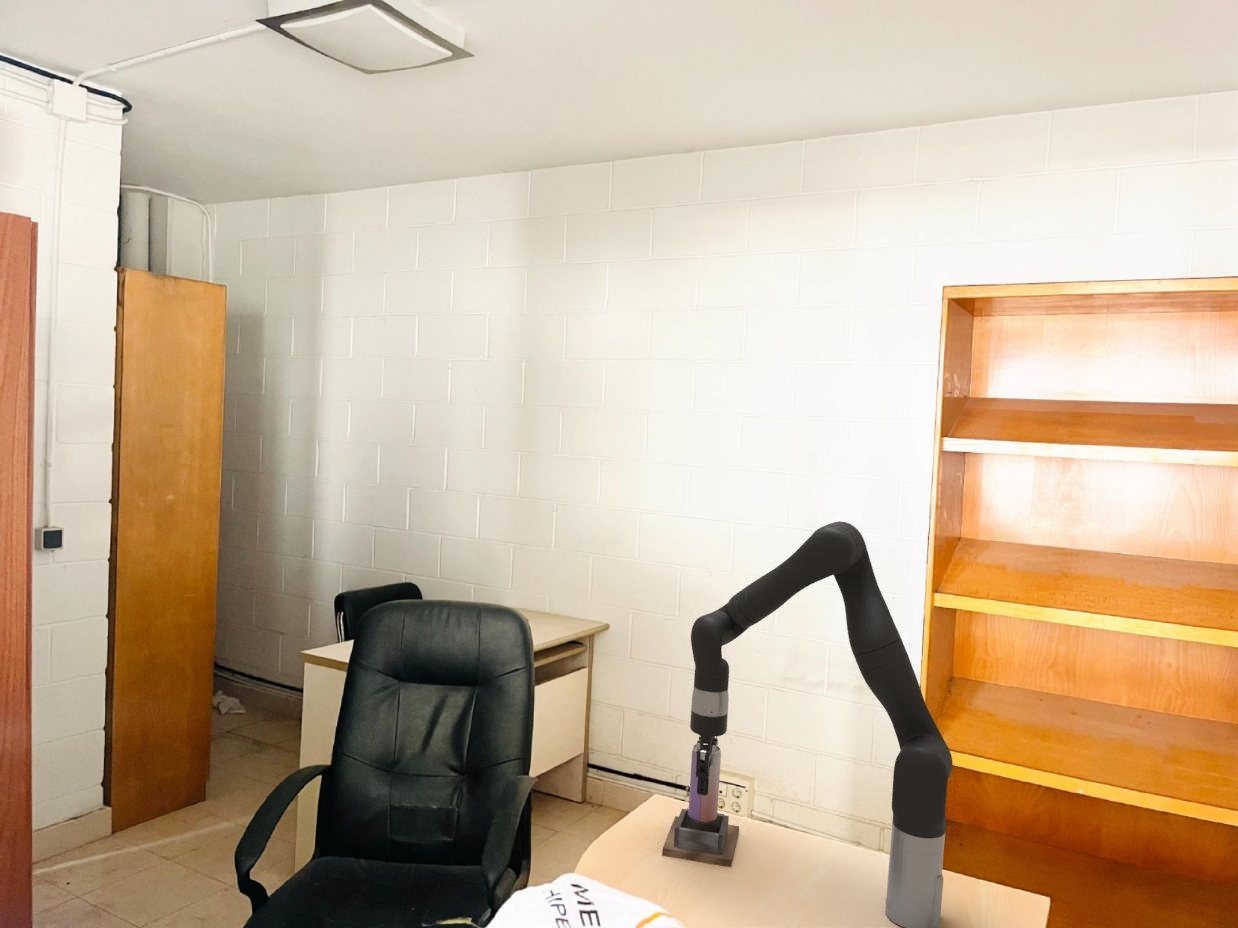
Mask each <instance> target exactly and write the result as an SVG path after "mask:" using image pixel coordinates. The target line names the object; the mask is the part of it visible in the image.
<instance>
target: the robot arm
mask: <svg viewBox="0 0 1238 928" xmlns="http://www.w3.org/2000/svg"><path fill="white" fill-rule="evenodd" d="M832 576H833V578H834V579H835V582H836V584H837V586H838V588H839V591H840V593H841V596H842V599H843V600H842V601H843V604H844V610H845V620H846V621H845V622H846V629H847V636H848V641H849V642H848V643H849V646H850V648H851V652H852V654H853V656H854V660H855V663H856V664H857V667H858V669H859V671H860V673H861V676H862V677H863V680H864V682H865V684H866V685H867V686H868V688H869V689H870V690H871V692H872V694H873V695H874V696H875V698H876V699H877V700H878V701H879V703H880V704H881V706H882V707H883V708H884V710H885V712H886V713H887V715H888V717H889V719H890V721H891V724H892V727H893V729H894V733H895V736H896V739H897V742H898V746H899V749H900V751H899V752H898V754H897V756H896V759H895V761H894V767H893V775H892V776H893V777H892V793H891V795H892V796H891V809H892V810H891V811H892V822H891V835H890V836H891V837H890V845H889V846H890V848H889V860H888V861H889V862H888V871H887V886H886V887H887V888H886V896H885V897H886V898H885V911H884V912H885V914H886V917H887V918H888V919H890V921H892V922H893V923H894V924H896V925H898V926H900V927H903V928H940V927H941V926H940V925H941V914H942V901H943V900H942V899H943V892H944V891H943V890H944V889H943V888H944V876H943V864H944V853H945V851H944V850H945V838H946V827H947V817H946V803H947V792H948V782H949V781H948V780H949V778H950V776H951V774H952V771H953V756H952V754H951V750H950V748H949V746H948V745H947V743H946V741H945V739H944V737H943V736H942V733H941V731H940V729H939V727H938V726H937V724H936V722H935V720H934V719H933V716H932V715H931V712H930V711H929V708H928V707H927V704H926V701H925V699H924V696H923V693H922V690H921V687H920V684H919V681H918V679H917V675H916V673H915V671H914V668H913V665H912V662H911V660H910V657H909V655H908V651H907V649H906V647H905V644H904V643H903V640H902V638H901V635H900V633H899V631H898V629H897V626H896V624H895V621H894V619H893V617H892V614H891V612H890V609H889V607H888V604H887V603H886V600H885V599H884V597H883V594H882V591H881V589H880V587H879V584H878V581H877V578H876V575H875V572H874V569H873V566H872V561H871V559H870V554H869V552H868V548H867V545H866V541H865V539H864V537H863V535H862V533H861V532H860V531H859V529H858V528H857V527H855V526H854V525H853V524H851V523H848V522H846V521H842V520H841V521H839V520H838V521H834V522H831V523H828V524H825V525H823V526H821V527H819V528H817V529H816V530H815V531H814V532H813V533H812V534H811V535H810V536H809V537H808V538H807V540H805V541H804V543H802V544H801V545H800V547H799V548H797V550H795V552H794V553H792V554H791V555H790V556H789V557H788V558H787V559H786V560H784V561H783V562H782V563H780V564H779V565H778V566H776V567H775V568H773V569H772V570H770V571H769V572H767V573H765V574H764V575H762V576H761V577H759V578H757V579H756V580H754V581H753V582H751V583H749V584H748V585H747V586H745V587H744V588H743V589H742V588H741V590H740V591H738V592H736V594H734V595H733V596H732V597H731V598H729V600H728V602H726V604H724V605H723V606H721V607H719V608H718V609H716V610H714V611H712V612H710V613H707V614H703V615H701V616H699V617H697V618H696V620H695V621H694V623H693V625H692V628H691V631H690V644H691V650H692V657H693V661H694V665H695V666H694V667H695V668H694V679H693V680H694V681H693V689H692V694H691V705H690V706H691V708H690V709H691V710H690V723H689V724H690V725H689V727H690V730H691V732H693V733H694V734H697V735H699V736H698V740H697V741H696V744H697V747H696V748H697V751H696V753H697V758H696V774H695V775H696V777H698V783H697V793H698V794H699V795H707V794H708V787H709V776H710V767H711V766H713V759H714V753H715V752H716V748H717V746H718V744H719V738H718V737H721V736H723V735H725V734H726V733H727V730H728V713H729V702H730V701H729V700H730V699H729V683H730V682H729V681H730V679H729V678H730V665H729V662H727V660H726V659H725V658H723V655H722V654H723V651H722V647H723V646H726V645H727V644H729V643H731V642H732V641H734V640H735V639H737V638H738V637H740V636H741V635H742V634H743V633H744V632H746V631H747V630H748V629H749V628H750V627H752V626H754V625H756V624H758V623H759V622H761V621H762V620H764V619H766V618H767V617H769V615H771V614H772V613H774V612H775V611H777V610H778V609H779V608H781V607H782V606H783V605H784V604H786V603H787V602H788V601H789V600H790V599H791V598H792V597H794V596H795V595H796V594H797V593H799V592H800V591H802V590H804V589H806V588H807V587H808V586H809V587H810V585H813V584H815V583H818V582H819V581H821V580H825V579H827V578H829V577H832ZM718 747H719V746H718ZM710 755H711V760H710V761H709V757H710ZM701 767H703V768H706V771H700V769H701Z"/></svg>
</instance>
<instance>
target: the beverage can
mask: <svg viewBox="0 0 1238 928" xmlns="http://www.w3.org/2000/svg"><path fill="white" fill-rule="evenodd" d="M696 747H697V743H696V744H694V745H693V747H692V751H691V763H690V779H689V781H690V782H689V795H688V796H689V797H688V809H689V810H688V815H689V817H690V819H691V820H692V821H694V822H696V823H700V824H709V823H712V822H714V821H715V820H716V818H717V813H718V810H719V808H718V806H719V793H720V774H721V763H722V762H721V759H722V752H721V753H720V751H721V748H720V747H719V746H717V748H716V752H715V753H714V759H713V766H711V767H710V776H709V787H708V794H707V795H699V794H698V793H697V783H698V777H696V775H695V774H696V758H697V753H696V751H697V748H696ZM710 760H711V755H710V757H709V761H710ZM700 771H706V768H703V767H701V769H700Z"/></svg>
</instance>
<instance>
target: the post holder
mask: <svg viewBox="0 0 1238 928" xmlns="http://www.w3.org/2000/svg"><path fill="white" fill-rule="evenodd" d="M720 753H721V754H722V752H721V750H720ZM688 810H689V807H687V808H682V809H681V811H680V812H679V813H680V814H679V815H678V816H677V815H675V816H674V818H673V822H672V823H671V826H670V828H669V831H668V834H667V835H666V838H665V842H664V844H663V845H662V851H661V853H662V856H665V857H670V858H675V859H682V860H687V861H693V862H699V863H700V862H701V863H705V864H710V865H712V864H713V865H718V866H723V867H729V868H731V867H732V864H733V860H734V857H735V851H736V848H737V842H738V838H739V835H740V834H739V833H740V825H739V826H738V825H734V824H729V818H730V816H729V815H725V813H718V812H717V818H716V820H715V821H714V822H712V823H709V824H700V823H696V822H694V821H692V820H691V819H690V817H689V815H688Z"/></svg>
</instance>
